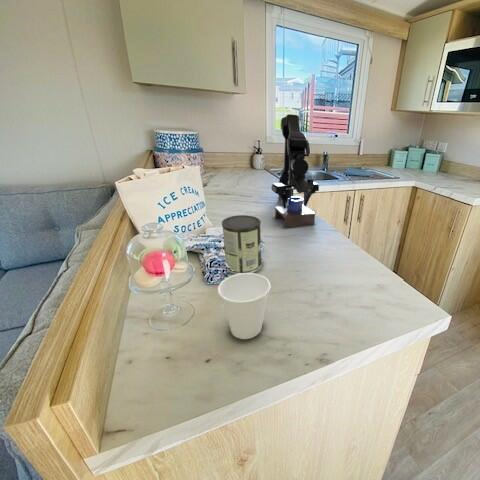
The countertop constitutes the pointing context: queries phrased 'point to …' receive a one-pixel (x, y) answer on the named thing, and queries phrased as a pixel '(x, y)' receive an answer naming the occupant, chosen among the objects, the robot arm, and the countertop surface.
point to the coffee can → (242, 243)
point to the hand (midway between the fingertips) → (294, 207)
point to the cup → (244, 302)
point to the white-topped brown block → (295, 217)
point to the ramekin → (295, 204)
